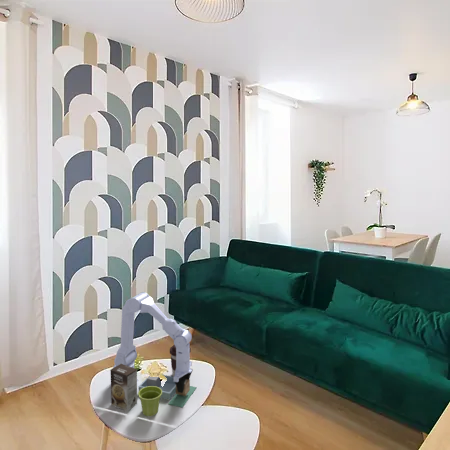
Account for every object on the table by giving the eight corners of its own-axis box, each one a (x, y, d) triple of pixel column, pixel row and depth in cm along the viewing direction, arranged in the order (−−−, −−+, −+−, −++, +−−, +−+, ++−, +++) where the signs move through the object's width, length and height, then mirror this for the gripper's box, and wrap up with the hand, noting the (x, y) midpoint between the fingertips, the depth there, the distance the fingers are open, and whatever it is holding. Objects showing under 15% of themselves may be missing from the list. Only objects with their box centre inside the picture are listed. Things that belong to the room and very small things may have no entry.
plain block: (146, 389, 166) (146, 378, 166) (151, 383, 171) (151, 373, 170) (155, 390, 165) (155, 380, 164) (160, 385, 169) (160, 375, 169)
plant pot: (151, 402, 158) (151, 383, 157) (167, 411, 152) (166, 391, 151) (133, 413, 151) (133, 393, 149) (148, 423, 145) (148, 402, 143)
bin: (138, 393, 163) (138, 386, 163) (152, 379, 175) (152, 372, 174) (170, 401, 159) (170, 393, 158) (182, 385, 170) (182, 378, 170)
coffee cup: (188, 381, 174) (188, 351, 172) (167, 380, 175) (167, 350, 172) (192, 370, 184) (192, 341, 182) (172, 369, 184) (172, 340, 182)
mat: (168, 405, 156) (168, 403, 156) (183, 386, 170) (183, 384, 170) (182, 408, 154) (182, 406, 154) (196, 388, 168) (196, 387, 168)
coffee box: (110, 406, 155) (109, 369, 153) (121, 397, 160) (120, 362, 158) (127, 412, 151) (126, 375, 148) (138, 404, 156) (137, 368, 154)
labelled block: (175, 393, 160) (175, 382, 159) (180, 388, 164) (180, 377, 164) (185, 395, 159) (185, 384, 158) (189, 390, 163) (189, 379, 162)
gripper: (184, 369, 151) (184, 400, 153) (198, 353, 165) (197, 381, 167) (168, 366, 154) (168, 396, 155) (183, 350, 167) (183, 378, 169)
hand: (182, 388), depth 161 cm, fingers closed on labelled block, 4 cm apart
